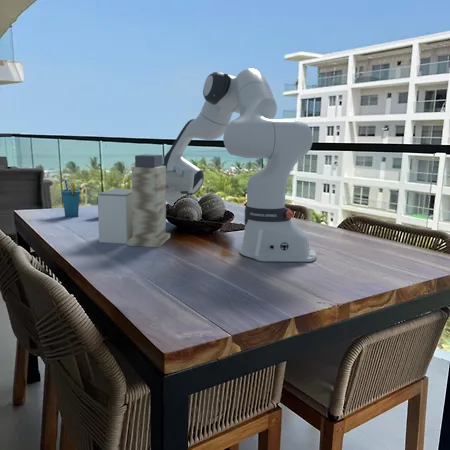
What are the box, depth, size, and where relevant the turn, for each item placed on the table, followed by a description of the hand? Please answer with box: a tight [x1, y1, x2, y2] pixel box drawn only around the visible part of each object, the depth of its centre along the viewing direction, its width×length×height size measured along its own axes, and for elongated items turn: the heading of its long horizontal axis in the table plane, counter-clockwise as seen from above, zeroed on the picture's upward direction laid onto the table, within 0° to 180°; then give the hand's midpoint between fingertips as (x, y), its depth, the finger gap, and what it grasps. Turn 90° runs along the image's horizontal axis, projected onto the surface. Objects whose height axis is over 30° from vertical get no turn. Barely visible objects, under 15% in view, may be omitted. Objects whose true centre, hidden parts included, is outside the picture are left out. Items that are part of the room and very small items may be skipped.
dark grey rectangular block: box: [134, 153, 164, 168], centre depth 145 cm, size 6×18×4 cm, turn 172°
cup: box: [60, 178, 81, 218], centre depth 184 cm, size 14×8×15 cm, turn 45°
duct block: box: [97, 188, 133, 245], centre depth 148 cm, size 9×14×16 cm, turn 172°
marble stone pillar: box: [126, 166, 171, 248], centre depth 144 cm, size 10×14×24 cm
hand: (161, 167), depth 155 cm, fingers open, 8 cm apart
